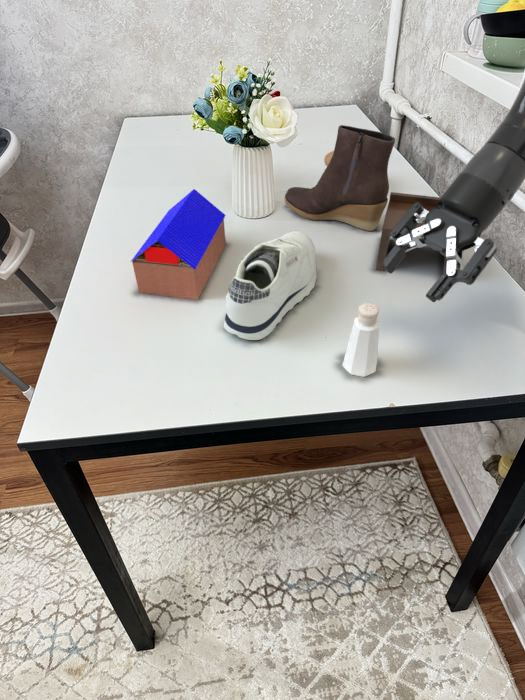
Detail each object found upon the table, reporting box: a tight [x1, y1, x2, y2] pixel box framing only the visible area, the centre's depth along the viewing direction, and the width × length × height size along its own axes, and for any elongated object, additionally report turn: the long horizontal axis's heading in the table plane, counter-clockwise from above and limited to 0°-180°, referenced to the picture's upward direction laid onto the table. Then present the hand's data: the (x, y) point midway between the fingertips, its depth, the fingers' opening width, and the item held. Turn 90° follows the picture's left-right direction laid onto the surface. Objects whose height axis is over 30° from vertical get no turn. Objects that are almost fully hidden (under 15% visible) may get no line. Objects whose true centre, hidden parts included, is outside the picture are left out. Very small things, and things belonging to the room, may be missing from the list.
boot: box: [284, 124, 396, 232], centre depth 104 cm, size 9×24×20 cm, turn 58°
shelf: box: [375, 191, 447, 274], centre depth 94 cm, size 14×12×10 cm
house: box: [130, 188, 227, 301], centre depth 92 cm, size 12×20×12 cm, turn 168°
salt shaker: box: [342, 302, 380, 378], centre depth 72 cm, size 5×5×11 cm
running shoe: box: [223, 230, 318, 341], centre depth 85 cm, size 11×29×12 cm, turn 158°
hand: (407, 284), depth 70 cm, fingers open, 8 cm apart
